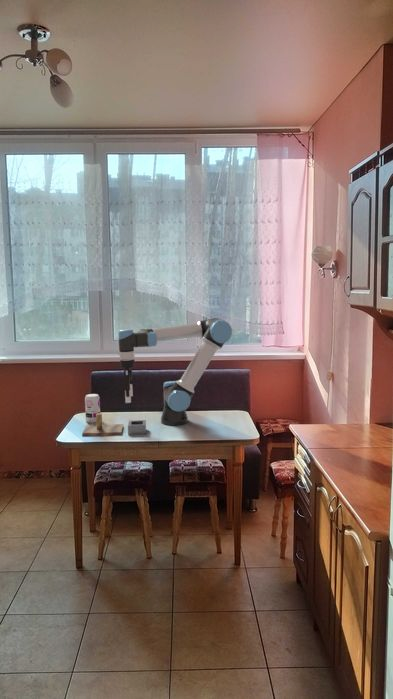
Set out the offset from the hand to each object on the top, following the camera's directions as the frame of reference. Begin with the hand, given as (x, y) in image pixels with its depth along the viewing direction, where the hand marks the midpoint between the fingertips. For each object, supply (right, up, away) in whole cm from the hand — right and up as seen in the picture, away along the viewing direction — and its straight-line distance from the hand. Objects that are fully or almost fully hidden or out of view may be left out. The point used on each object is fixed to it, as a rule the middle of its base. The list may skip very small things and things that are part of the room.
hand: (129, 399), depth 261 cm
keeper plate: (-14, -17, +4) cm, 23 cm away
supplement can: (-24, -15, +23) cm, 36 cm away
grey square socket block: (+4, -17, +2) cm, 18 cm away
